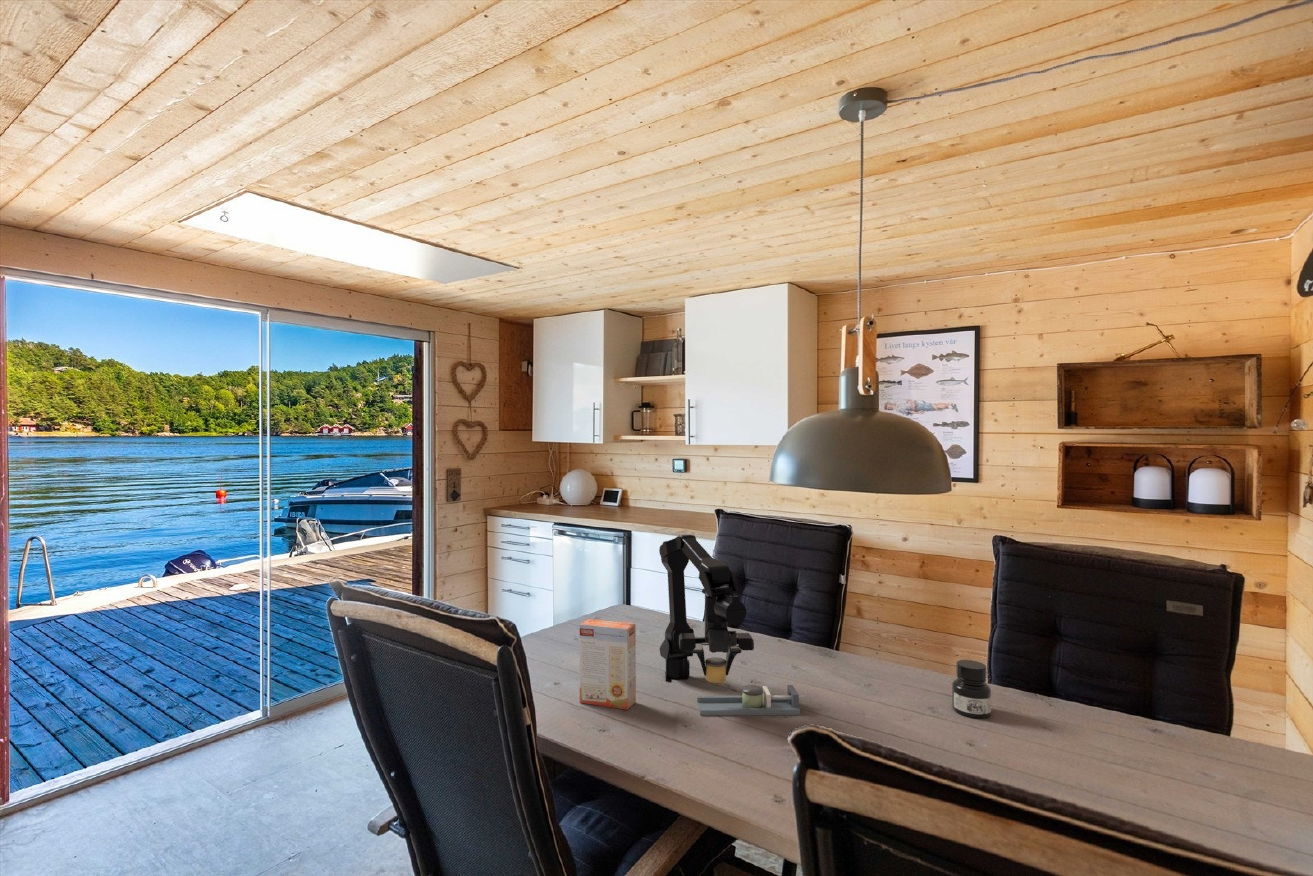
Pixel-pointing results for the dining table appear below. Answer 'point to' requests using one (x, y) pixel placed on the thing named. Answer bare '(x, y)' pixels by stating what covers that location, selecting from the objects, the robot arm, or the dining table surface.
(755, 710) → the lane
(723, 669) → the jar
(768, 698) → the pusher
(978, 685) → the ink bottle
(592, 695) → the cracker box
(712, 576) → the robot arm
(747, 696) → the jar in lane
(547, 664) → the dining table surface
